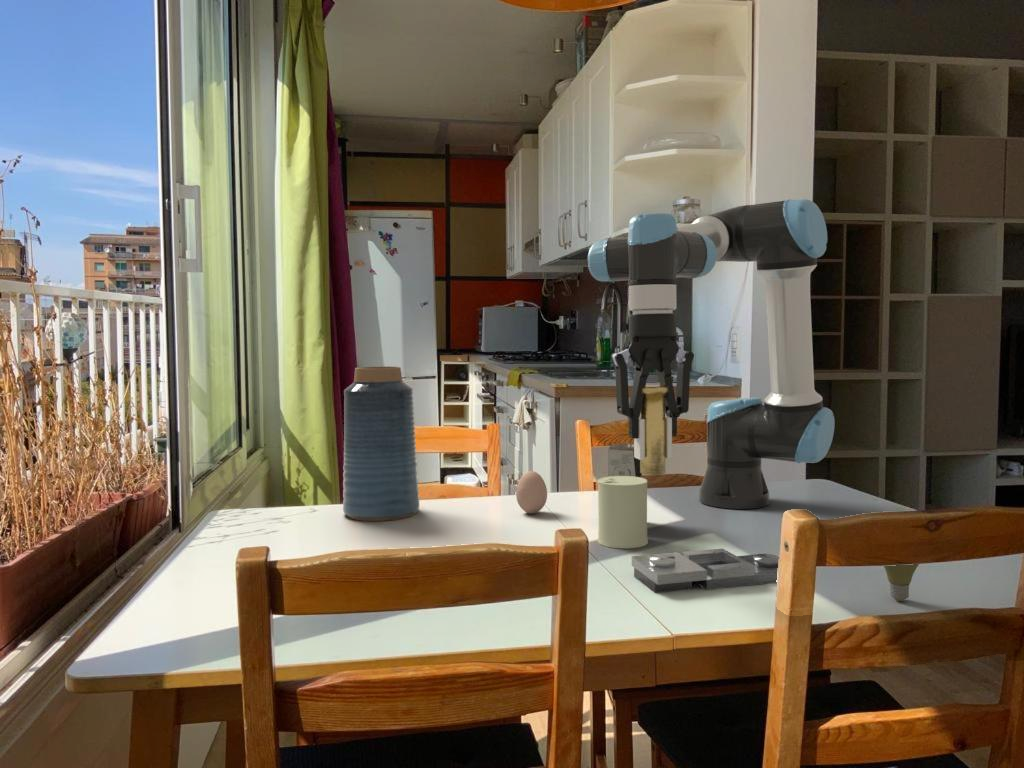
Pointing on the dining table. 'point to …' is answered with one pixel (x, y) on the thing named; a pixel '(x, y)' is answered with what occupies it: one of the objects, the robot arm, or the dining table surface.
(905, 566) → the light bulb
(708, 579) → the link plates
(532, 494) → the egg
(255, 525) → the dining table surface
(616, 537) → the can
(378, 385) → the vase
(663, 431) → the pin
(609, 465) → the coffee box
